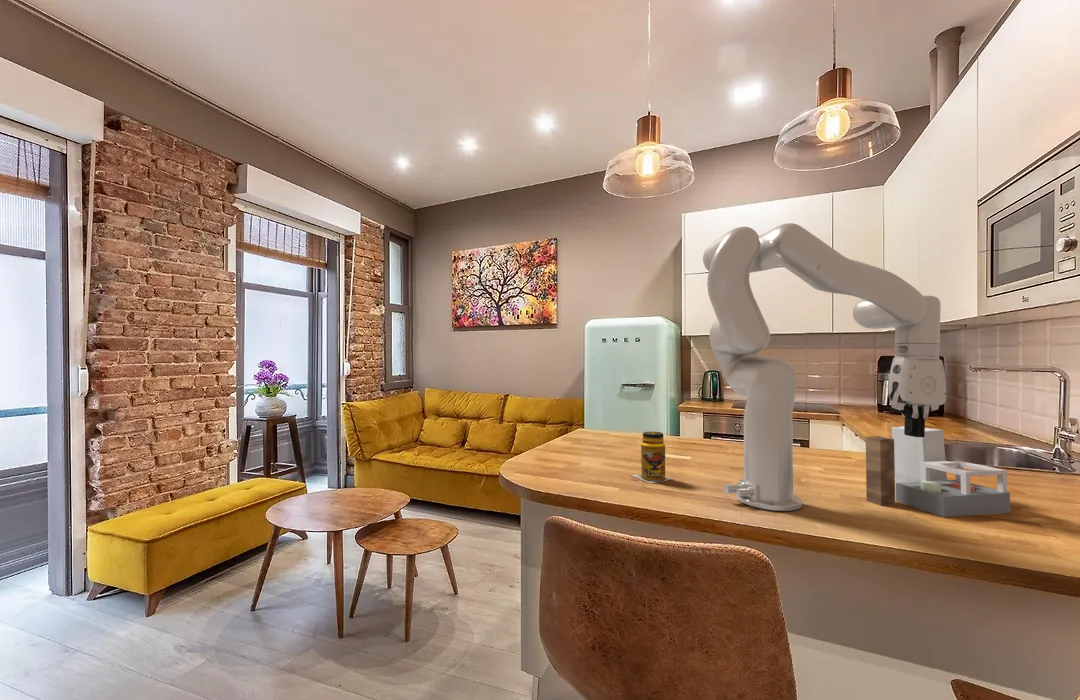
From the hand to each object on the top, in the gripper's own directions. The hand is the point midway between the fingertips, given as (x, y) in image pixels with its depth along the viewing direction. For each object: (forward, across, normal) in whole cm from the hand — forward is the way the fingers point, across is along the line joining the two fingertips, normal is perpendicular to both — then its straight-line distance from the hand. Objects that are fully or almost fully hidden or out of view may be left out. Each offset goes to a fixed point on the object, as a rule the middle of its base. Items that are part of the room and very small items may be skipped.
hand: (914, 436), depth 98 cm
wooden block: (+15, -7, 0) cm, 16 cm away
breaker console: (+14, +5, -4) cm, 15 cm away
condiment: (+17, -49, +27) cm, 58 cm away
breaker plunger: (+13, +8, -4) cm, 15 cm away
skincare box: (+14, +10, +7) cm, 19 cm away
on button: (+13, 0, -4) cm, 13 cm away
